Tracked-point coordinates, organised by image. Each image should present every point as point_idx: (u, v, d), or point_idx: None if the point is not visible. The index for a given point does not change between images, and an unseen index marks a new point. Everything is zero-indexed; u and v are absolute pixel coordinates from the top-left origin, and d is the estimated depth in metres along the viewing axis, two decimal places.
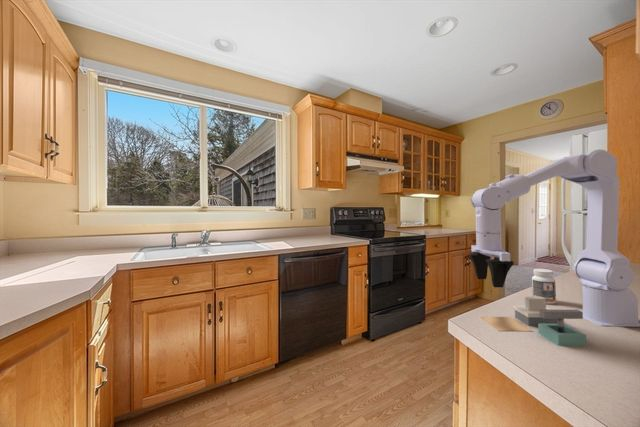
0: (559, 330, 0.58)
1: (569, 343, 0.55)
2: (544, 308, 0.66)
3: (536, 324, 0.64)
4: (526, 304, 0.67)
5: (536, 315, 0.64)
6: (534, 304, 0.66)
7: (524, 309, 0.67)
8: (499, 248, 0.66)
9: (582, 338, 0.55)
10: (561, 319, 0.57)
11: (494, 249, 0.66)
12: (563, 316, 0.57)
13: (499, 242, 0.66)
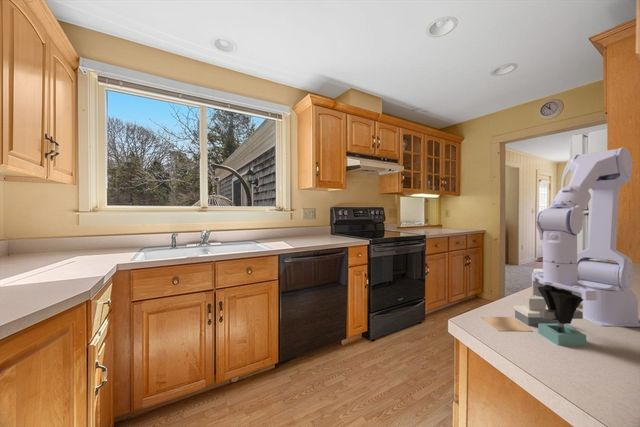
0: (559, 330, 0.58)
1: (569, 343, 0.55)
2: (544, 308, 0.66)
3: (536, 324, 0.64)
4: (526, 304, 0.67)
5: (536, 315, 0.64)
6: (534, 304, 0.66)
7: (524, 309, 0.67)
8: (576, 281, 0.55)
9: (582, 338, 0.55)
10: None
11: (570, 283, 0.55)
12: None
13: (576, 274, 0.55)
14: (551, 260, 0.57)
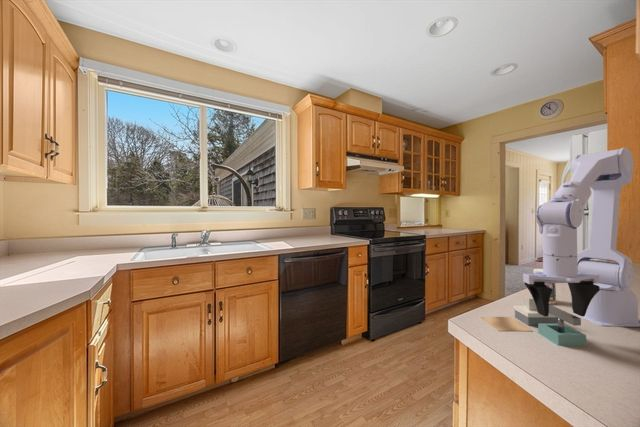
0: (563, 331, 0.57)
1: (569, 343, 0.55)
2: None
3: (536, 324, 0.64)
4: (526, 304, 0.67)
5: (536, 315, 0.64)
6: (534, 304, 0.66)
7: (524, 309, 0.67)
8: None
9: (582, 338, 0.55)
10: None
11: None
12: None
13: None
14: (551, 254, 0.57)
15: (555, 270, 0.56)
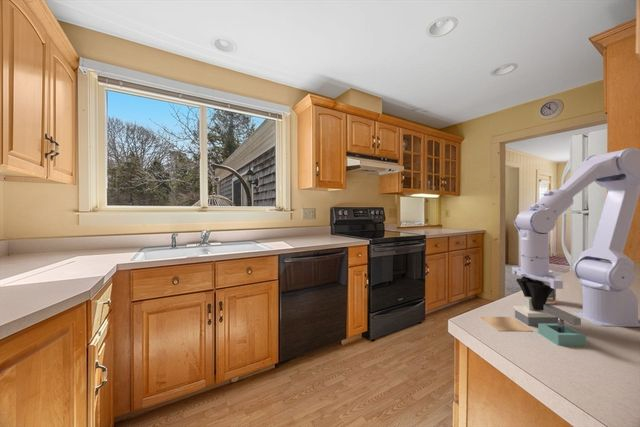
0: (563, 331, 0.57)
1: (569, 343, 0.55)
2: None
3: (536, 324, 0.64)
4: (526, 304, 0.67)
5: (536, 315, 0.64)
6: None
7: (524, 309, 0.67)
8: (547, 273, 0.64)
9: (582, 338, 0.55)
10: None
11: (542, 274, 0.64)
12: None
13: (547, 267, 0.64)
14: (522, 254, 0.67)
15: None
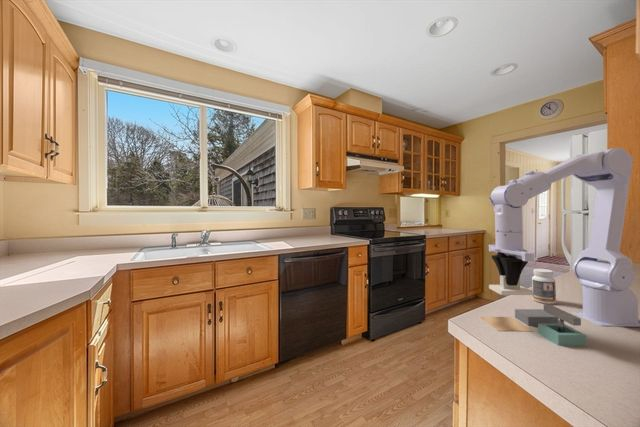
0: (563, 331, 0.57)
1: (569, 343, 0.55)
2: (518, 286, 0.65)
3: (536, 324, 0.64)
4: (500, 283, 0.67)
5: (510, 293, 0.63)
6: None
7: (498, 287, 0.66)
8: (520, 248, 0.63)
9: (582, 338, 0.55)
10: None
11: (515, 249, 0.63)
12: None
13: (521, 241, 0.63)
14: (497, 229, 0.66)
15: None
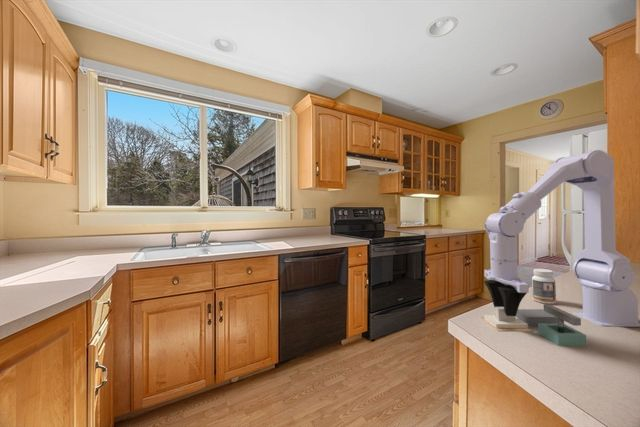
0: (563, 331, 0.57)
1: (569, 343, 0.55)
2: (513, 318, 0.65)
3: (536, 324, 0.64)
4: (495, 314, 0.67)
5: (504, 326, 0.63)
6: (503, 314, 0.65)
7: (494, 319, 0.66)
8: (515, 277, 0.63)
9: (582, 338, 0.55)
10: None
11: (510, 278, 0.63)
12: None
13: (515, 270, 0.63)
14: (492, 257, 0.66)
15: None
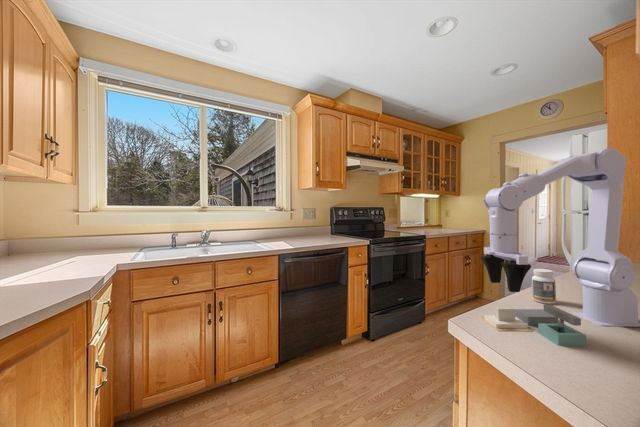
0: (563, 331, 0.57)
1: (569, 343, 0.55)
2: (513, 318, 0.65)
3: (536, 324, 0.64)
4: (495, 314, 0.67)
5: (504, 326, 0.63)
6: (503, 314, 0.65)
7: (494, 319, 0.66)
8: (515, 251, 0.63)
9: (582, 338, 0.55)
10: None
11: (510, 252, 0.63)
12: None
13: (515, 244, 0.63)
14: (491, 232, 0.66)
15: None
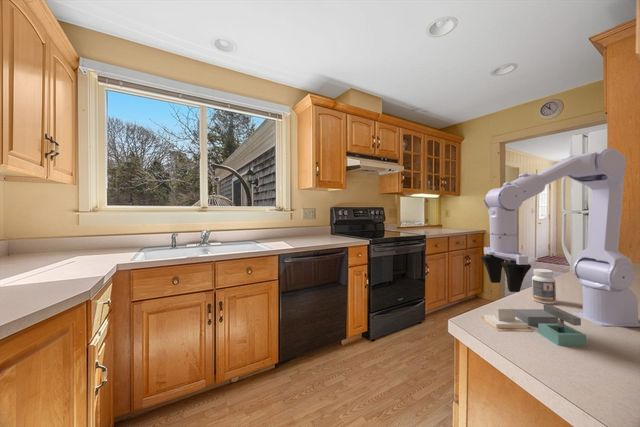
0: (563, 331, 0.57)
1: (569, 343, 0.55)
2: (513, 318, 0.65)
3: (536, 324, 0.64)
4: (495, 314, 0.67)
5: (504, 326, 0.63)
6: (503, 314, 0.65)
7: (494, 319, 0.66)
8: (515, 251, 0.63)
9: (582, 338, 0.55)
10: None
11: (510, 252, 0.63)
12: None
13: (515, 244, 0.63)
14: (491, 232, 0.66)
15: None
